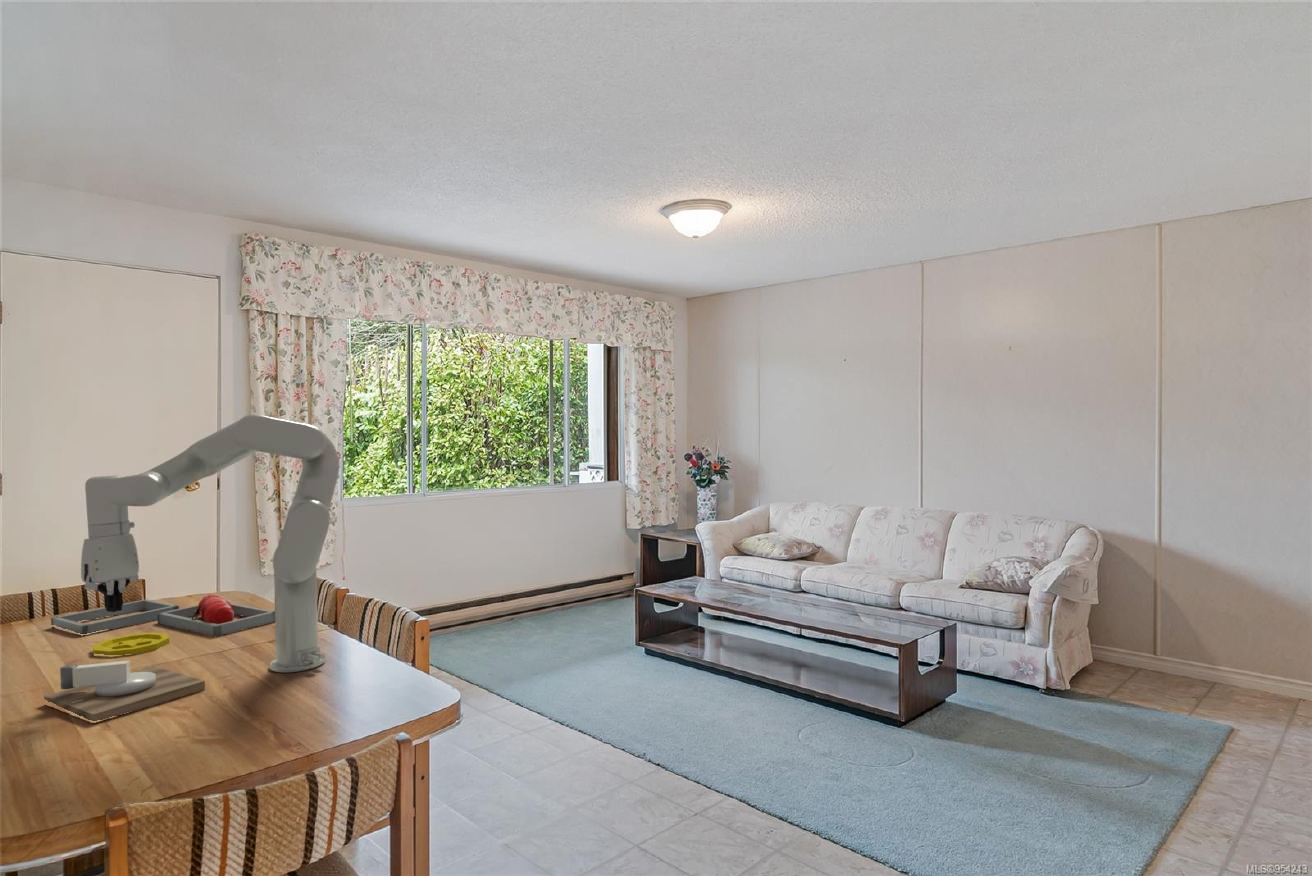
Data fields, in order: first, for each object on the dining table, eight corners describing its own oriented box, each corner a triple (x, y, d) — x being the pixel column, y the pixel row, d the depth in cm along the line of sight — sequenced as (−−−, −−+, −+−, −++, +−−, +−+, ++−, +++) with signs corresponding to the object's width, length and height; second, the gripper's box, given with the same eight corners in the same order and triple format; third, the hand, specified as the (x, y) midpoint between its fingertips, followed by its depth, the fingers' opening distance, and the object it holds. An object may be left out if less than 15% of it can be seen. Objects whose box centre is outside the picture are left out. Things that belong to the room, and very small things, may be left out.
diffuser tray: (179, 615, 239) (178, 605, 239) (82, 636, 216) (81, 626, 216) (147, 608, 249) (146, 599, 249) (51, 627, 226) (51, 618, 226)
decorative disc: (103, 644, 209) (103, 637, 209) (176, 636, 215) (176, 630, 215) (81, 662, 193) (81, 654, 193) (161, 653, 200) (161, 646, 200)
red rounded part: (188, 613, 214) (179, 598, 234) (194, 640, 215) (185, 622, 235) (235, 600, 222) (223, 586, 242) (241, 625, 222) (228, 610, 242)
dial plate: (204, 689, 170) (204, 680, 170) (93, 724, 151) (93, 713, 151) (154, 674, 182) (153, 665, 181) (44, 705, 162) (43, 694, 162)
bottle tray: (277, 621, 229) (277, 611, 229) (216, 636, 213) (216, 626, 213) (218, 609, 245) (218, 600, 245) (157, 623, 229) (157, 613, 229)
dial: (162, 676, 173) (161, 651, 173) (146, 692, 163) (145, 666, 163) (72, 685, 168) (71, 660, 168) (49, 703, 158) (48, 675, 157)
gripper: (133, 525, 178) (138, 601, 179) (61, 535, 165) (67, 618, 165) (153, 525, 175) (158, 603, 175) (81, 536, 161) (87, 621, 162)
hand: (114, 610), depth 170 cm, fingers closed
